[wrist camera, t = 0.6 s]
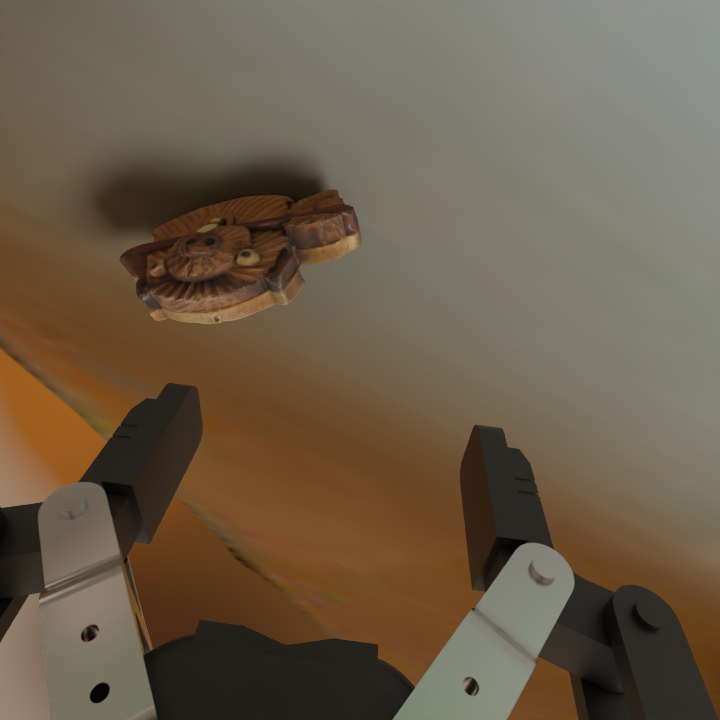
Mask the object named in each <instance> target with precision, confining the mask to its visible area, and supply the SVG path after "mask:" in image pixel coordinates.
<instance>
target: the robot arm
mask: <svg viewBox="0 0 720 720" xmlns="http://www.w3.org/2000/svg"><path fill="white" fill-rule="evenodd" d="M202 430H203V424H202V417H201V409H200V402H199V395H198V390H197V388H196V387H195V386H188V385H181V384H173V383H168V384H167V385H166V386H165V387H164V389H163V390H162V392H161V393H160V395H159V396H158V398H157V399H149V398H147V399H145V400H144V401H143V402H141V403H140V404H138V405H137V406H135V407H134V408H133V409H131V410H130V412H129V413H128V414H127V416H126V417H125V419H124V420H123V421H122V423H121V426H119V427H118V428H117V430H116V431H115V432H114V434H113V437H112V438H110V439H109V441H108V442H107V444H106V445H105V446H104V448H103V449H102V450H101V452H100V453H99V455H98V456H97V457H96V459H95V460H94V461H93V463H92V464H91V466H90V467H89V468H88V470H87V471H86V473H85V474H84V475H83V477H82V478H81V479H80V481H79V482H78V483H73V484H69V485H67V486H64V487H62V488H60V489H58V490H57V491H55V492H54V493H52V494H51V495H50V496H49V497H48V498H47V499H46V500H45V501H44V502H41V503H35V504H28V505H21V506H14V507H6V508H1V507H0V642H1V640H2V638H3V637H4V635H5V633H6V631H7V630H8V628H9V627H10V625H11V624H12V622H13V620H14V619H15V617H16V615H17V614H18V612H19V610H20V608H21V607H22V605H23V603H24V602H25V600H26V599H27V597H28V595H29V594H34V593H40V592H41V593H40V596H39V608H40V619H41V630H42V640H43V651H44V660H45V661H44V662H45V672H46V683H47V694H48V704H49V715H50V720H507V718H508V716H509V714H510V712H511V711H512V709H513V707H514V705H515V703H516V701H517V699H518V697H519V696H520V694H521V692H522V690H523V688H524V686H525V684H526V682H527V681H528V679H529V677H530V675H531V673H532V671H533V669H534V667H535V665H536V659H537V657H538V656H539V657H541V658H543V659H545V660H547V661H549V662H551V663H553V664H555V665H557V666H559V667H561V668H563V669H565V670H567V671H569V673H570V678H571V683H572V688H573V693H574V699H575V704H576V709H577V714H578V719H579V720H718V717H717V715H716V712H715V710H714V707H713V705H712V702H711V700H710V697H709V695H708V692H707V690H706V687H705V685H704V682H703V680H702V677H701V675H700V672H699V670H698V667H697V665H696V662H695V659H694V657H693V654H692V652H691V649H690V647H689V644H688V642H687V639H686V637H685V634H684V632H683V629H682V627H681V624H680V622H679V620H678V618H677V616H676V614H675V613H674V611H673V610H672V609H671V607H670V606H669V605H668V604H667V603H666V602H665V601H664V600H663V599H662V598H660V597H659V596H658V595H656V594H655V593H653V592H652V591H650V590H648V589H646V588H643V587H640V586H636V585H625V586H622V587H620V588H618V590H617V591H616V592H612V591H610V590H608V589H606V588H603V587H601V586H599V585H596V584H594V583H592V582H590V581H587V580H585V579H583V578H581V577H580V576H578V575H576V574H575V573H574V572H572V570H571V568H570V566H569V564H568V563H567V562H566V560H565V559H564V558H563V557H562V556H561V555H560V554H559V553H558V552H556V551H555V550H554V547H553V545H552V541H551V537H550V534H549V530H548V526H547V523H546V519H545V516H544V512H543V508H542V505H541V501H540V497H538V490H537V487H536V483H534V481H535V479H534V476H533V472H532V468H531V465H530V463H529V462H528V460H527V459H526V458H525V456H524V455H523V454H522V452H521V451H520V450H519V449H515V448H508V447H507V443H506V439H505V435H504V431H503V429H502V428H496V427H489V426H481V425H475V426H474V427H473V430H472V433H471V436H470V439H469V442H468V445H467V448H466V450H465V453H464V456H463V459H462V463H461V469H460V485H461V494H462V503H463V512H464V521H465V530H466V539H467V548H468V557H469V566H470V575H471V584H472V590H478V591H485V594H484V596H483V597H482V599H481V600H480V602H479V603H478V604H477V606H476V607H475V608H473V609H472V610H471V611H470V612H469V613H468V615H467V616H466V617H465V619H464V620H463V621H462V623H461V624H460V626H459V627H458V628H457V630H456V631H455V633H454V634H453V635H452V637H451V638H450V640H449V641H448V642H447V644H446V645H445V647H444V648H443V649H442V651H441V652H440V654H439V655H438V657H437V658H436V659H435V661H434V662H433V664H432V665H431V666H430V668H429V669H428V671H427V672H426V673H425V675H424V676H423V678H422V679H421V680H420V682H419V683H418V685H417V686H416V687H415V686H414V685H413V684H412V683H411V682H410V681H409V680H408V679H407V678H406V677H405V676H404V675H403V674H402V673H401V672H400V671H398V670H397V669H396V668H395V667H393V666H391V665H390V664H388V663H387V662H385V661H383V660H381V659H378V658H377V655H378V645H377V644H370V643H363V642H356V641H349V640H341V639H327V640H320V641H313V642H307V643H299V644H293V645H285V644H282V643H280V642H278V641H275V640H273V639H271V638H269V637H266V636H264V635H262V634H260V633H258V632H256V631H254V630H251V629H249V628H247V627H245V626H241V625H233V624H226V623H218V622H211V621H205V620H200V621H199V624H198V627H197V630H196V633H195V634H188V635H185V636H181V637H178V638H175V639H173V640H170V641H168V642H165V643H163V644H162V645H160V646H158V647H156V648H154V649H152V645H151V642H150V638H149V635H148V632H147V629H146V625H145V622H144V618H143V614H142V610H141V606H140V602H139V599H138V594H137V590H136V586H135V583H134V579H133V575H132V571H131V567H130V563H129V559H128V556H127V555H128V553H129V551H130V549H131V548H132V546H133V544H134V542H139V543H146V544H150V542H151V540H152V538H153V536H154V534H155V532H156V530H157V528H158V526H159V524H160V522H161V520H162V518H163V516H164V514H165V512H166V510H167V508H168V506H169V503H170V502H171V500H172V498H173V496H174V494H175V492H176V490H177V488H178V486H179V484H180V482H181V480H182V478H183V476H184V474H185V472H186V470H187V468H188V466H189V464H190V462H191V460H192V458H193V456H194V454H195V452H196V450H197V448H198V446H199V444H200V441H201V437H202Z"/></svg>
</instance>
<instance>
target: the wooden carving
mask: <svg viewBox="0 0 720 720" xmlns="http://www.w3.org/2000/svg"><path fill="white" fill-rule="evenodd" d="M152 235H153V236H154V238H155V240H154V242H153V243H147V244H142V245H139V246H136V247H134V248H131V249H129V250H127V251H126V252H125V253H123V254H122V255H121V257H120V262H121V263H122V265H123V266H124V267H125V268H126V269H127V270H128V272H129V273H130V274H131V276H132V278H133V279H134V280H135V281H136V282H137V283H136V293H137V295H138V298H139V299H140V300H141V301H142V302H143V303H144V304H145V306H146V307H147V308H148V309H149V312H150V315H151V316H152V317H153V318H154V320H158V321H161V320H164V319H167V318H171V319H174V320H177V321H181V322H189V323H203V324H214V323H222V322H224V321H231V320H236V319H240V318H243V317H246V316H249V315H251V314H254V313H256V312H259V311H261V310H263V309H266V308H268V307H270V306H272V305H274V304H281V305H286V304H289V303H290V302H292V300H293V299H294V298H295V296H296V295H297V294H298V293H299V292H300V290H301V289H302V287H303V285H304V283H305V282H304V279H303V278H302V276H301V273H300V271H299V266H300V265H304V264H313V263H320V262H325V261H329V260H333V259H337V258H339V257H341V256H343V255H345V254H347V253H348V252H350V251H352V250H355V249H356V248H358V247H359V246H360V244H361V242H362V239H361V233H360V229H359V225H358V220H357V217H356V214H355V211H354V208H353V207H351V206H349V205H345V204H344V202H343V200H342V199H341V198H340V197H339V194H338V191H337V190H328V191H324V192H320V193H318V194H315V195H313V196H310V197H307V198H305V199H302V200H300V201H298V202H297V203H295V202H294V201H293V200H292V199H291V198H289V197H287V196H280V195H259V196H256V195H255V196H247V197H242V198H238V199H231V200H228V201H223V202H220V203H218V204H214V205H210V206H207V207H202V208H199V209H197V210H194V211H191V212H189V213H188V214H185V215H182V216H180V217H178V218H175V219H173V220H171V221H170V222H167V223H165V224H162V225H161V226H159V227H158V228H156V229H154V230H153V232H152Z"/></svg>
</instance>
